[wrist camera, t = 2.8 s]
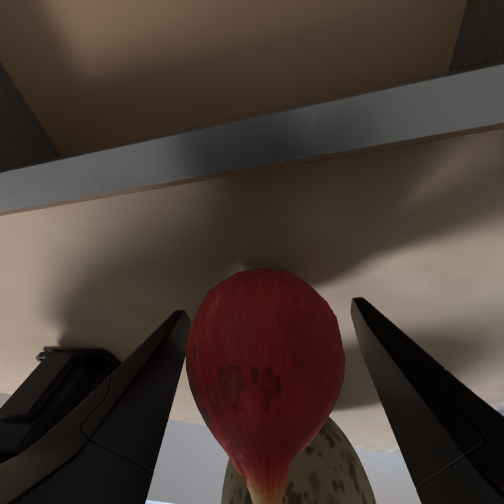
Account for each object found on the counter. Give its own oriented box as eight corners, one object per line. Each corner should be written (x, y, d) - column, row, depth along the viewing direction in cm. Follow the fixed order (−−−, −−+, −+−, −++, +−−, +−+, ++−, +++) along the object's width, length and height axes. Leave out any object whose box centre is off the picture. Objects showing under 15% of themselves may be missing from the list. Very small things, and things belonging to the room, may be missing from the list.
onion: (200, 295, 12) (123, 507, 6) (233, 214, 9) (146, 485, 3) (287, 324, 13) (303, 531, 7) (344, 260, 10) (476, 537, 4)
